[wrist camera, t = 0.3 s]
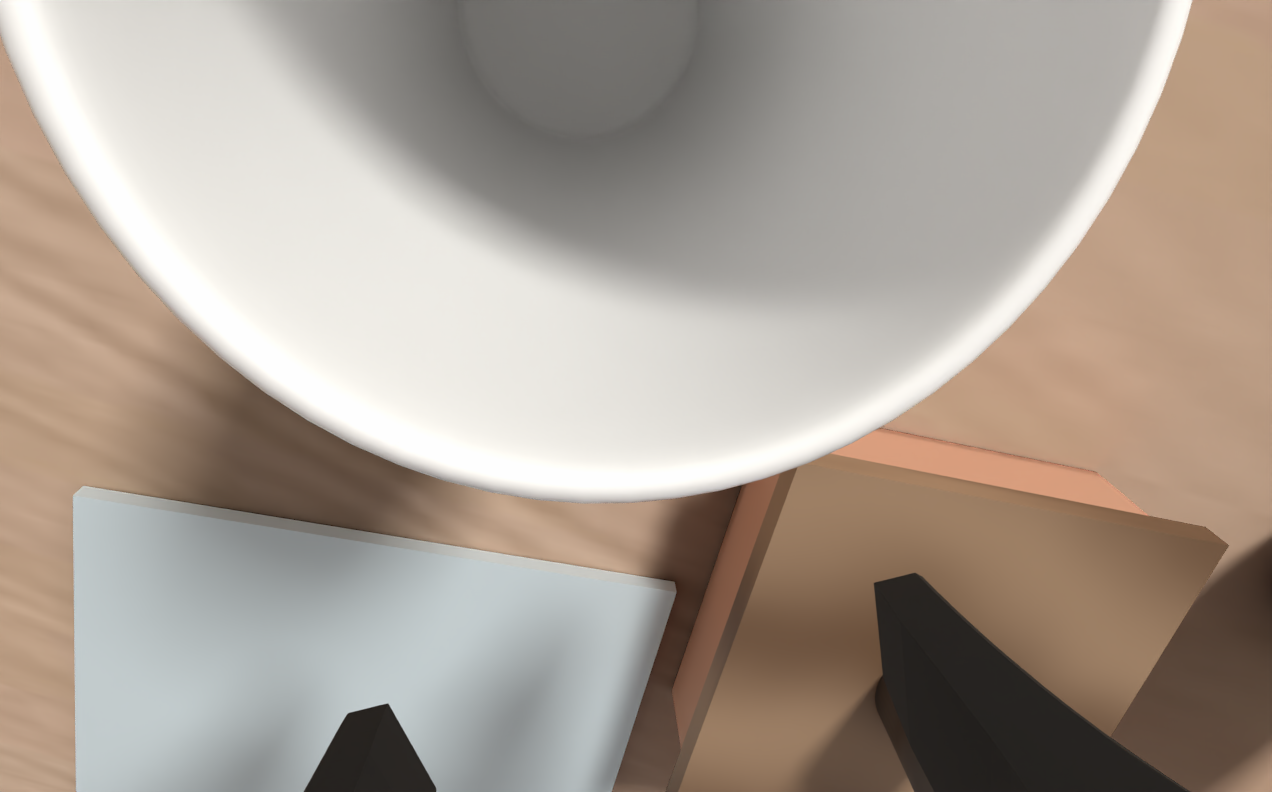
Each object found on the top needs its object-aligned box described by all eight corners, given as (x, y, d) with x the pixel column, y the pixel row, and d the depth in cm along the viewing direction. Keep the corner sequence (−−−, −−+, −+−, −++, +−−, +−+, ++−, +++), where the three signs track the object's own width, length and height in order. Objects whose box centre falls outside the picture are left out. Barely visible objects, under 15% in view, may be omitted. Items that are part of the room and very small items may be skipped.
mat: (559, 937, 30) (559, 952, 30) (85, 898, 28) (77, 912, 27) (674, 581, 24) (676, 592, 24) (83, 485, 22) (73, 495, 21)
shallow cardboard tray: (960, 730, 28) (1011, 822, 24) (671, 690, 26) (686, 783, 23) (1096, 471, 24) (1177, 540, 21) (769, 405, 22) (804, 469, 19)
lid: (1020, 836, 25) (1105, 988, 21) (664, 794, 23) (685, 952, 19) (1205, 526, 21) (1355, 644, 17) (789, 445, 19) (849, 556, 15)
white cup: (436, 177, 19) (123, 550, 6) (400, -172, 16) (-407, -1142, 3) (727, 171, 20) (1100, 500, 6) (738, -171, 17) (1474, -1001, 3)
